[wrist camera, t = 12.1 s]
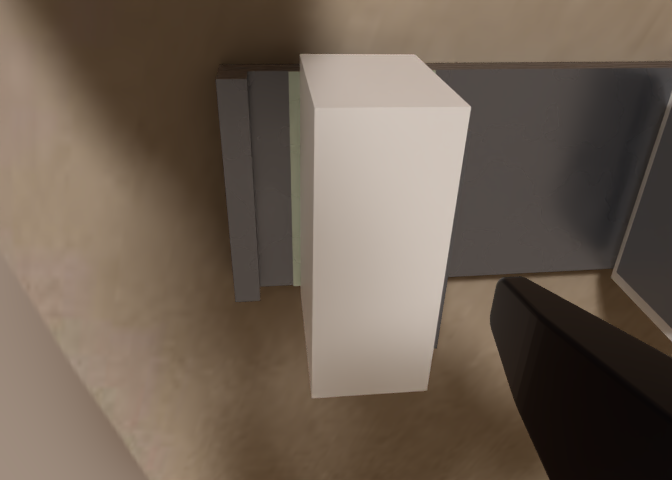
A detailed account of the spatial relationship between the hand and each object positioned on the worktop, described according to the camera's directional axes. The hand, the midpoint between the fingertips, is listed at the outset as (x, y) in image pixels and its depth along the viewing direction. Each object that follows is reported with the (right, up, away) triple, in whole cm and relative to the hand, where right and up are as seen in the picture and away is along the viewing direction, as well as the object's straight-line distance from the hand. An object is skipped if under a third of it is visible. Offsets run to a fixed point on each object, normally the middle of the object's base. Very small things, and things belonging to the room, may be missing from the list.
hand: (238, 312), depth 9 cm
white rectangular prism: (+2, +3, +12) cm, 13 cm away
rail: (+9, +4, +14) cm, 17 cm away
